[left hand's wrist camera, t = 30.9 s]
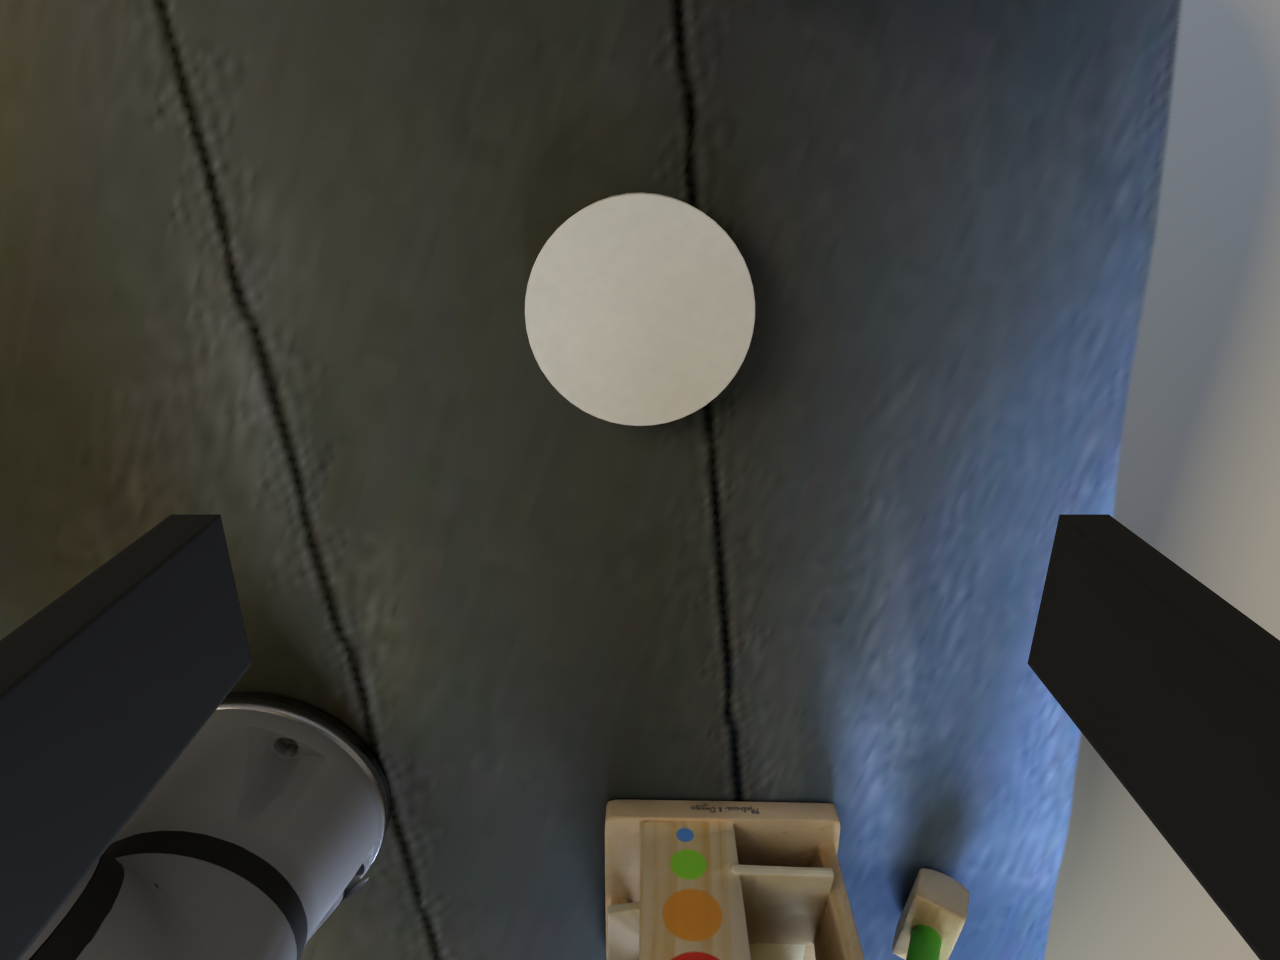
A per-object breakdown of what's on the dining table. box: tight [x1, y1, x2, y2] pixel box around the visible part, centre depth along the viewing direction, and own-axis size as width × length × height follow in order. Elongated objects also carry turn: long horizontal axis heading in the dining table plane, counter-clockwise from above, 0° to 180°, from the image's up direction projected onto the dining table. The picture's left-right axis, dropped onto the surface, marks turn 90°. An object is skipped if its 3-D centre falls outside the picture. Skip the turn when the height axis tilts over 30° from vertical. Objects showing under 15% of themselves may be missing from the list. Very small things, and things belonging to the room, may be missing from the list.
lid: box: [525, 192, 755, 426], centre depth 37 cm, size 11×11×2 cm
